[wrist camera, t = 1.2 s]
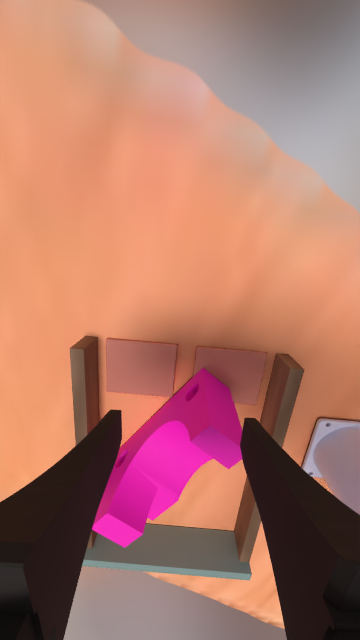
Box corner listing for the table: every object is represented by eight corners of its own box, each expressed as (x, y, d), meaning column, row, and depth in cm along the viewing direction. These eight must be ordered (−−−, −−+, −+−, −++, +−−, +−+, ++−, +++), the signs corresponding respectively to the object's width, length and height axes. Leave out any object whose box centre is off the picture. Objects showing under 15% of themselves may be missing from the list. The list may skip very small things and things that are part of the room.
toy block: (158, 476, 26) (146, 560, 19) (117, 450, 25) (89, 528, 18) (246, 402, 23) (273, 471, 15) (202, 367, 22) (210, 424, 14)
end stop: (242, 532, 29) (251, 574, 25) (241, 537, 29) (249, 580, 25) (92, 519, 29) (78, 559, 25) (92, 525, 29) (78, 565, 25)
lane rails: (288, 354, 21) (304, 369, 18) (242, 532, 29) (249, 562, 26) (85, 336, 21) (69, 348, 18) (92, 519, 29) (82, 548, 26)
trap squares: (266, 352, 21) (267, 353, 21) (255, 402, 23) (256, 404, 23) (107, 338, 21) (106, 339, 21) (107, 389, 23) (106, 391, 23)
